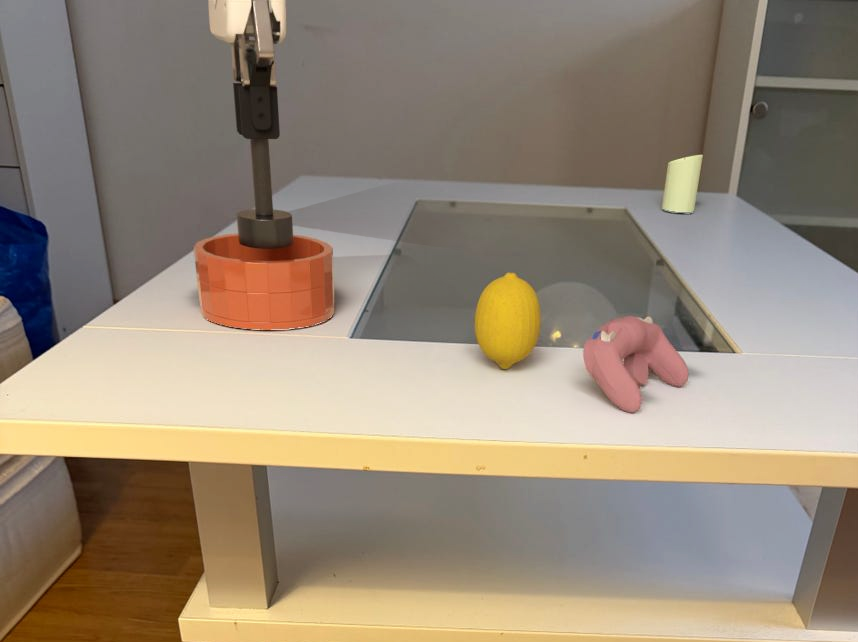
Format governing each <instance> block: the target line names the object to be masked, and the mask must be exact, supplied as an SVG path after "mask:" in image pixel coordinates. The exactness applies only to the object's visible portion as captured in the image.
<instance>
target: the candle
mask: <svg viewBox="0 0 858 642" xmlns="http://www.w3.org/2000/svg"><path fill="white" fill-rule="evenodd" d="M703 157H704V155H703V154H696V155H690V156H684V157H682V158H678V159H675V160H671V161H669V162H668V163H667V167H666V168H667V170H666V176H665V182H664V189H663V197H662V203H661V210H662V209H665V210H669V211H675V212H693V211H694V212H695V207H696V201H697V194H698V188H699V184H700V183H699V182H700V177H701V170H702V164H703V159H704V158H703ZM694 212H693V213H694Z"/></svg>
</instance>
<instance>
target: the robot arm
mask: <svg viewBox="0 0 858 642" xmlns="http://www.w3.org/2000/svg"><path fill="white" fill-rule="evenodd" d="M207 2H208V4H207V5H208V22H209V29H210V33H211V34H212V35H213V36H214V37H215V38H216V39H217V40H219V41H222V42H225V43H229V44H230V53H231V62H232V63H231V64H232V74H233V76H232V77H233V82H232V89H233V102H234V112H235V113H234V114H235V122H236V123H235V125H236V132H237V133H238V134H239V135H241V136H242V137H243V138H245V140H250V139H268V140H278V139H279V138H280V136H281V135H280V134H281V133H280V132H281V131H280V115H279V113H280V112H279V98H278V86H277V73H276V71H277V70H276V69H277V68H276V55H275V54H276V53H275V45H280V44H281V43H282V42H283V41H284V40H285V39H286V36H287V0H207ZM250 38H254V39H250Z"/></svg>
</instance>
